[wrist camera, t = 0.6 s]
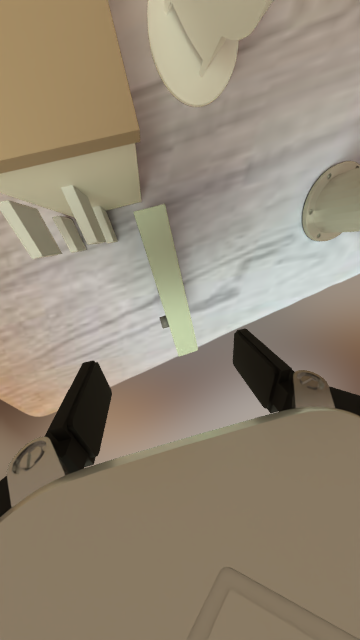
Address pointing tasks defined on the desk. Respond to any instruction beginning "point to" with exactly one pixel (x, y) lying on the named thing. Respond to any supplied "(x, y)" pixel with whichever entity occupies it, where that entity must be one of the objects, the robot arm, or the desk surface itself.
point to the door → (167, 275)
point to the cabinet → (64, 122)
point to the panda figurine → (199, 43)
